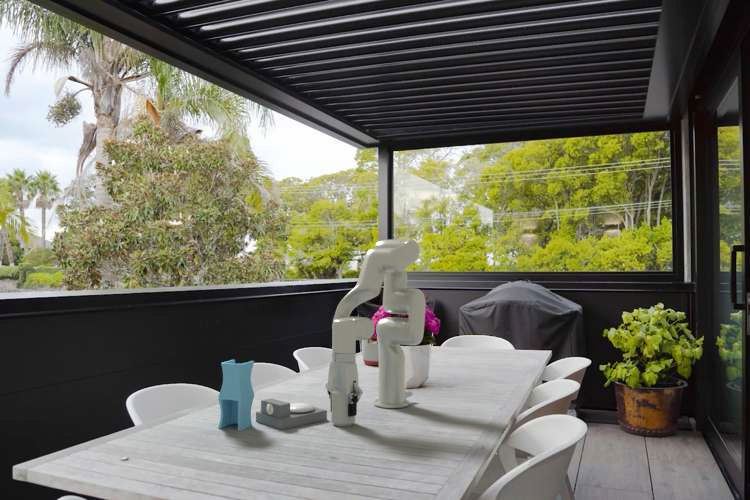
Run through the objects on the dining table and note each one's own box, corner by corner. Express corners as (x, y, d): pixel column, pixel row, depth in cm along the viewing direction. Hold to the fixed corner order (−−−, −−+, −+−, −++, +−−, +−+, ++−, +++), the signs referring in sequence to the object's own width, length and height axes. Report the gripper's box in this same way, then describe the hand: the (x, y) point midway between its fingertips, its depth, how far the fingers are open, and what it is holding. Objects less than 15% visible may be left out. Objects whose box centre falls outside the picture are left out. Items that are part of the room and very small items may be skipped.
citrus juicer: (357, 366, 306) (357, 326, 306) (363, 361, 323) (364, 323, 323) (388, 367, 303) (388, 327, 304) (392, 362, 320) (393, 324, 321)
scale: (300, 412, 208) (300, 391, 208) (326, 419, 198) (327, 398, 198) (255, 421, 195) (256, 399, 195) (282, 429, 185) (282, 406, 186)
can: (352, 427, 188) (352, 388, 189) (328, 426, 190) (329, 387, 190) (357, 421, 196) (357, 384, 196) (335, 420, 197) (335, 383, 197)
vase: (253, 424, 191) (254, 360, 192) (240, 430, 184) (241, 364, 184) (232, 422, 194) (233, 359, 194) (218, 428, 186) (219, 363, 187)
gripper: (317, 356, 197) (316, 410, 196) (354, 362, 184) (353, 420, 184) (334, 353, 202) (334, 407, 201) (371, 359, 190) (371, 416, 189)
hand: (343, 413), depth 193 cm, fingers closed on can, 7 cm apart
